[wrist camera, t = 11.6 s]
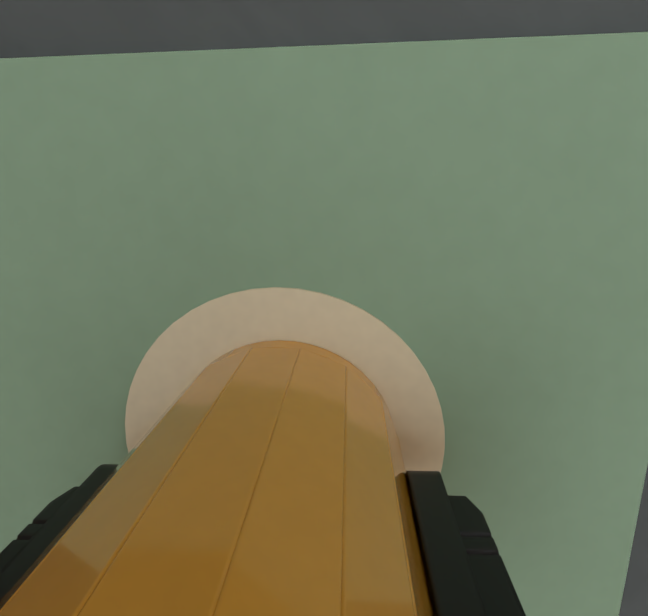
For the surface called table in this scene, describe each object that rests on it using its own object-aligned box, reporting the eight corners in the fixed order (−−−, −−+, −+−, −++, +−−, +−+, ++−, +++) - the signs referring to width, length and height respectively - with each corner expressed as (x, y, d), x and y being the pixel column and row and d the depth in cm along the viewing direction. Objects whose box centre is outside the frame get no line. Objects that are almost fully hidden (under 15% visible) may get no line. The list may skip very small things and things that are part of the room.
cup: (187, 534, 13) (-146, 1223, 4) (164, 339, 11) (-430, 790, 3) (393, 540, 13) (494, 1306, 4) (398, 339, 11) (583, 862, 2)
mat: (22, 678, 16) (12, 694, 15) (-134, 69, 11) (-157, 62, 10) (593, 705, 14) (601, 723, 14) (716, 34, 9) (735, 25, 9)
